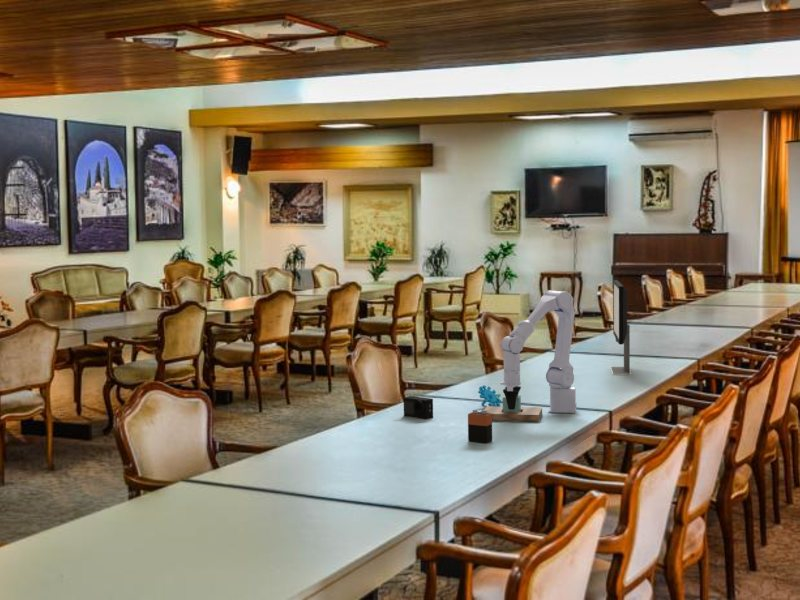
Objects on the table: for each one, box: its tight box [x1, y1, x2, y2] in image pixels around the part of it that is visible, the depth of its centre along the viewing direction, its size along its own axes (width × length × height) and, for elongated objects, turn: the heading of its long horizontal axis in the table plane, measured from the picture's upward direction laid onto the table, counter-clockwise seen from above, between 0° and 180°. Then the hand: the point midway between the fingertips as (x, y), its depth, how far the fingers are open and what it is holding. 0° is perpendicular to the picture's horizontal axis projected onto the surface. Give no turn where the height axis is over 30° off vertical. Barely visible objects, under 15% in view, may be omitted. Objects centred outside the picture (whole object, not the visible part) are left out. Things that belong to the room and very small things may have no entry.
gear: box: [477, 385, 502, 407], centre depth 399 cm, size 11×6×10 cm
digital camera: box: [403, 395, 434, 420], centre depth 378 cm, size 10×5×7 cm, turn 50°
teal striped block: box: [502, 394, 522, 412], centre depth 374 cm, size 6×4×6 cm, turn 78°
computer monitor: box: [609, 279, 632, 376], centre depth 474 cm, size 41×8×40 cm, turn 172°
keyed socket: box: [484, 405, 543, 423], centre depth 375 cm, size 20×14×2 cm
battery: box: [467, 409, 493, 444], centre depth 337 cm, size 4×7×10 cm, turn 58°
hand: (512, 408), depth 375 cm, fingers closed on teal striped block, 4 cm apart
